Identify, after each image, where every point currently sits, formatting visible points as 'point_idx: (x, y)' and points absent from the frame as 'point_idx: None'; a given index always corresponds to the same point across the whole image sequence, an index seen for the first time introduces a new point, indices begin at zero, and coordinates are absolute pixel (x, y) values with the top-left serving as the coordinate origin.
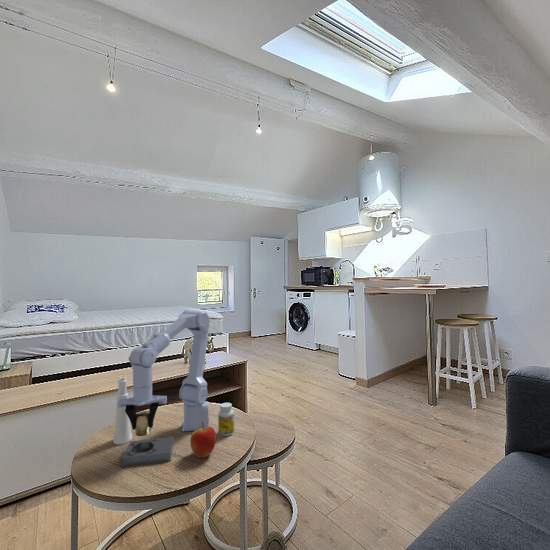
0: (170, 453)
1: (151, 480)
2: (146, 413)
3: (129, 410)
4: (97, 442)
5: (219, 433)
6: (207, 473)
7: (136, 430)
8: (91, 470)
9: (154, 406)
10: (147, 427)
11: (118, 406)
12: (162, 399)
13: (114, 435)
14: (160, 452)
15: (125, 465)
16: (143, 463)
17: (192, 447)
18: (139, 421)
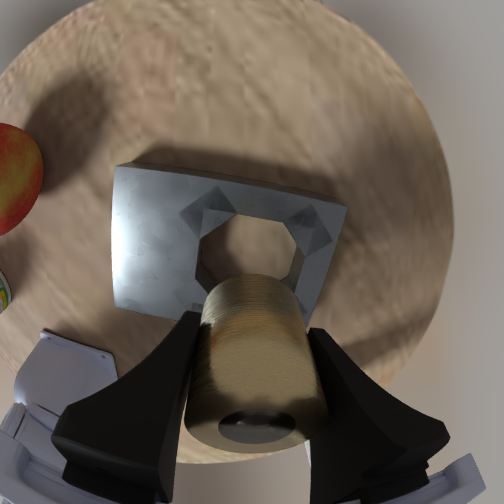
0: (117, 166)
1: (215, 42)
2: (222, 425)
3: (429, 443)
4: (379, 375)
5: (4, 281)
6: (37, 53)
7: (299, 315)
8: (423, 223)
9: (91, 461)
10: (217, 313)
11: (472, 462)
12: (5, 484)
13: None
14: (160, 183)
15: (322, 195)
16: (246, 179)
17: (25, 147)
18: (290, 353)
